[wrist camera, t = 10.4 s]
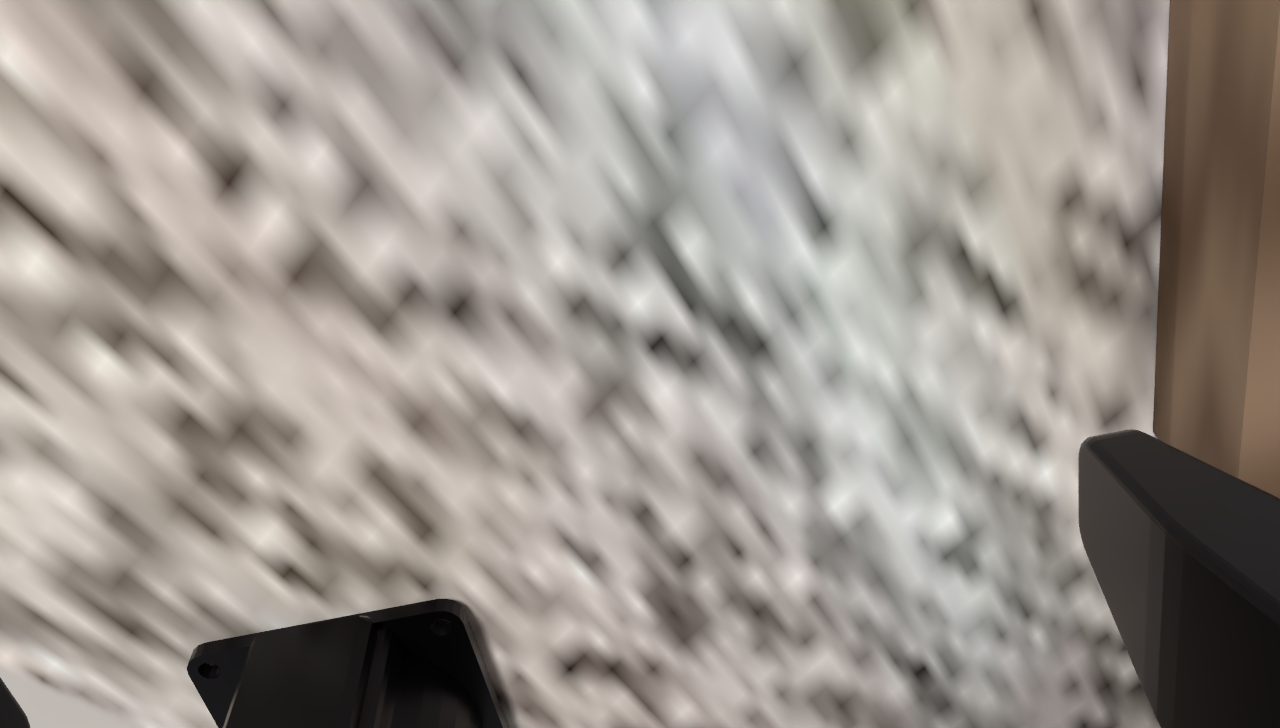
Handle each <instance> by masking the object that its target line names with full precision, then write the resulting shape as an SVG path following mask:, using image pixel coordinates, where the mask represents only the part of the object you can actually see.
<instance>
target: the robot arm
mask: <svg viewBox="0 0 1280 728" xmlns="http://www.w3.org/2000/svg"><path fill="white" fill-rule="evenodd" d="M1079 527H1080V533H1081V538H1082V542H1083V545H1084V548H1085V551H1086V553H1087V556H1088V558H1089V561H1090V563H1091V565H1092V568H1093V570H1094V572H1095V575H1096V577H1097V580H1098V582H1099V584H1100V587H1101V589H1102V592H1103V594H1104V596H1105V599H1106V601H1107V604H1108V606H1109V608H1110V611H1111V613H1112V615H1113V618H1114V620H1115V623H1116V625H1117V627H1118V630H1119V632H1120V635H1121V637H1122V639H1123V642H1124V644H1125V647H1126V649H1127V651H1128V654H1129V656H1130V658H1131V661H1132V663H1133V666H1134V668H1135V670H1136V673H1137V675H1138V678H1139V680H1140V682H1141V685H1142V687H1143V689H1144V692H1145V694H1146V696H1147V699H1148V701H1149V703H1150V705H1151V708H1152V710H1153V712H1154V714H1155V717H1156V719H1157V721H1158V723H1159V724H1160V726H1161V728H1280V498H1278V497H1276V496H1274V495H1272V494H1270V493H1268V492H1266V491H1264V490H1262V489H1260V488H1258V487H1256V486H1253V485H1251V484H1249V483H1247V482H1245V481H1243V480H1241V479H1239V478H1237V477H1235V476H1233V475H1231V474H1229V473H1227V472H1225V471H1222V470H1220V469H1218V468H1216V467H1214V466H1212V465H1210V464H1208V463H1206V462H1204V461H1202V460H1200V459H1198V458H1196V457H1193V456H1191V455H1189V454H1187V453H1185V452H1183V451H1181V450H1179V449H1177V448H1175V447H1173V446H1171V445H1169V444H1167V443H1165V442H1162V441H1160V440H1158V439H1156V438H1154V437H1152V436H1150V435H1148V434H1146V433H1144V432H1141V431H1138V430H1124V431H1119V432H1113V433H1108V434H1103V435H1098V436H1093V437H1089V438H1087V439H1086V440H1085V441H1084V442H1083V443H1082V444H1081V447H1080V451H1079ZM438 619H446V620H448V621H450V622H449V623H439V622H437V621H435V620H438ZM207 663H213V664H215V665H217V666H211V665H209V664H207ZM187 671H188V674H189V676H190V678H191V680H192V682H193V683H194V685H195V687H196V689H197V690H198V692H199V694H200V696H201V697H202V699H203V701H204V703H205V705H206V706H207V708H208V710H209V712H210V713H211V715H212V717H213V719H214V720H215V722H216V724H217V726H218V728H509V727H508V725H507V722H506V719H505V717H504V714H503V711H502V709H501V706H500V703H499V701H498V698H497V695H496V693H495V690H494V687H493V685H492V682H491V679H490V677H489V674H488V671H487V669H486V666H485V663H484V661H483V658H482V655H481V653H480V650H479V647H478V645H477V642H476V639H475V637H474V634H473V631H472V629H471V626H470V623H469V621H468V618H467V615H466V613H465V611H464V609H463V608H462V606H461V605H460V604H458V603H457V602H455V601H453V600H449V599H435V600H430V601H425V602H419V603H414V604H409V605H404V606H398V607H393V608H388V609H382V610H377V611H372V612H366V613H361V614H356V615H350V616H345V617H340V618H334V619H329V620H324V621H318V622H313V623H308V624H303V625H297V626H292V627H287V628H281V629H276V630H271V631H265V632H260V633H255V634H249V635H244V636H239V637H233V638H228V639H223V640H217V641H212V642H207V643H204V644H201V645H198V646H197V647H196V648H195V649H194V650H193V653H192V655H191V658H190V660H189V663H188V667H187ZM0 728H30V725H29V722H28V719H27V716H26V715H25V713H24V711H23V710H22V708H21V707H20V705H19V704H18V702H17V701H16V700H15V698H14V697H13V696H12V694H11V692H10V691H9V689H8V688H7V687H6V685H5V684H4V682H3V681H2V679H1V678H0Z"/></svg>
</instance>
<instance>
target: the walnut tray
mask: <svg viewBox="0 0 1280 728" xmlns="http://www.w3.org/2000/svg"><path fill="white" fill-rule="evenodd" d="M1153 432H1154V433H1155V434H1156V435H1157V437H1158V438H1159V439H1160V441H1162V442H1165V443H1167V444H1169V445H1171V446H1173V447H1175V448H1177V449H1179V450H1181V451H1183V452H1185V453H1187V454H1189V455H1191V456H1193V457H1196V458H1198V459H1200V460H1202V461H1204V462H1206V463H1208V464H1210V465H1212V466H1214V467H1216V468H1218V469H1220V470H1222V471H1225V472H1227V473H1229V474H1231V475H1233V476H1235V477H1237V478H1239V479H1241V480H1243V481H1245V482H1247V483H1249V484H1251V485H1253V486H1256V487H1258V488H1260V489H1262V490H1264V491H1266V492H1268V493H1270V494H1272V495H1274V496H1276V497H1278V498H1280V0H1170V21H1169V46H1168V71H1167V97H1166V122H1165V147H1164V172H1163V197H1162V222H1161V247H1160V272H1159V297H1158V322H1157V347H1156V372H1155V397H1154V422H1153Z"/></svg>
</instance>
